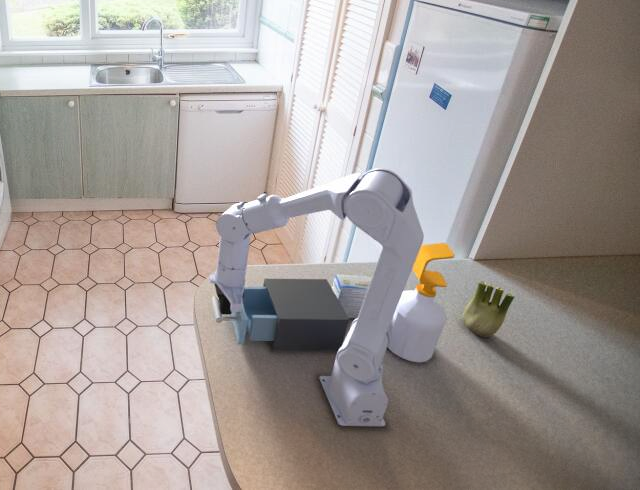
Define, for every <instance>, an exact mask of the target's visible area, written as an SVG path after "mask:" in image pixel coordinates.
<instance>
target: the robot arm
mask: <svg viewBox="0 0 640 490" xmlns="http://www.w3.org/2000/svg"><path fill="white" fill-rule="evenodd" d="M362 174H363V172H356V173H352V174H349V175H346V176H344V177H341V178H338V179H336V180H333V181H331V182H328V183H325V184H322V185H319V186H316V187H314V188H310V189H308V190H305V191H302V192H299V193H296V194H294V195H291V196H288V197H285V198H283V197H281V196H279V195H277V194H271V195H268V194H267V193H263V194H260V195H259V196H257V198H256V200H252V201H248V202H246V203H245V202H244V201H241V202H238V203H235V204H233V205H231V206H230V207H229V208H228V209H227V210H226V211H225V212H223V213H222V214H221V215H220V216H219V217H218V219H217V220H216V222H215V228H216V231H217V233H218V235H219V241H218V242H219V243H218V250H217V251H218V252H217V261H216V270H215V273H214V274H209V281H210V282H209V283H211V284H212V285H213V284H214V288H215V293H216V297H217V298H218V299H219V306H220V310H221V314H222V315H224V316H226V315H229V316H231V313H232V312H241V311H242V305H243V304H242V298H243V297H244V286H246V274H247V273H246V272H247V267H248V266H247V265H248V258H249V252H250V245H251V238H252V237H251V236H252V235H255V234H259V233H263V232H267V231H271V230H275V229H279V228H283V227H285V226H286V225H288V223H289V220H290V218H295V217H299V216H300V217H301V216H305V215H310V214H315V213H321V212H325V211H330V212H331V213H333V214H334V215H335V216H336V217H338V218H339V220H342V221H344V220H345V219H346V218H347V219H348V220H349V221H350V222H351V224H353V225H354V226H356V227H357V228H358V229H360V230H361V231H362V232H363V233H365V234H367V236H369V237H370V238H372V239H373V240H375V241H376V242H377V243H379V244H380V245H381V247H382V248H381V251H380V254H379V256H378V260H377V261H376V265H375V268H374V271H373V274H372V276H371V277H372V279H371V282H370V285H369V288H368V290H367V293H366V296H365V299H364V302H363V305H362V307H361V310H360V313H359V316H358V318H354V320H353V321H352V322H351V324H350V328H349V331H348V332H347V334H346V336H345V338H344V341H343V345H342V347H340V348H339V350H338V351H337V352H336V355H335V360H334V363H333V368H332V371H331V375H320V376H319V378H318V379H319V382H320V385H321V386H322V388H323V391H324V393H325V396H326V398H327V401H328V403H329V405H330V407H331V410H332V412H333V415H334V418H335V420H336V422H337V425H339V426H340V427H385V426H386V421H385V420H384V415H385V412H386V410H387V408H388V404H389V400H388V396H387V394H386V391H385V389H384V386H383V372H384V365H383V359H384V356H385V354H386V351H387V349H388V347H387V346H388V345H389V343H390V335H389V331H388V328H389V325H390V323H391V320H392V318H393V315H394V313H395V310H396V308H397V305H398V303H399V300H400V298H401V295H402V293H403V291H405V288H406V286H407V283H408V281H409V278H410V275H411V273H412V271H413V269H412V268H413V265H414V263H415V260H416V258H417V255H418V253H419V250H420V248H421V246H423V242H424V237H425V235H424V232H423V228H422V226H421V223H420V220H419V217H418V214H417V210H416V208H415V204H414V200H413V191H412V189H411V188H410V186H408V185H407V183H406V182H405V181H404V180H403V179H402V177H401V176H399V175H398V173H396V172H394V171H392V170H390V169H387V168H381V167H379V168H378V167H377V168H372V169H370V170H368V171H366V172H365V173H364V174H363V175H362ZM361 175H362V176H361ZM360 176H361V178H360Z"/></svg>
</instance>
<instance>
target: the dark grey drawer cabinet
mask: <svg viewBox="0 0 640 490" xmlns="http://www.w3.org/2000/svg"><path fill="white" fill-rule="evenodd" d="M262 284H263V285H262V287H266V288H267V291H268V294H269V296H270V299H271V302H272V304H273V307H274V309H275V312H276V315H277V317H278V322H277V327H276V332H275V338H274V341H270V344H271V347H272V350H273V351H281V352H282V351H286V352H287V351H289V352H338V350H339V348H340V347H342V345H343V343H344V341H345V338H346V335H347V330H348V327H349V323H350V318H348V316H347V315H346V313H345V311H344V309H343V307H342V306H341V304H340V302H339V300H338V299H337V297H336V295H335V293H334V291H333V290H332V286H331V285H330V283H329V280H327V278H263V283H262Z"/></svg>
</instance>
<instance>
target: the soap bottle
mask: <svg viewBox="0 0 640 490" xmlns="http://www.w3.org/2000/svg"><path fill="white" fill-rule="evenodd" d="M454 258H455V253H454V252H453V250H452V249H451V247H450V246H449V244H448V243H445V242H439V243H437V242H436V243H429V244H422V245H421V248H420V250H419V253H418V255H417V258H416V260H415V263H414V265H413V268H412V271H413V272H414V274H415V276H416V279H418V282H419V283H417V284H416V286H415V289H414V290H403V293H402V295H401V298H400V300H399V303H398V305H397V308H396V310H395V313H394V315H393V318H392V320H391V323H390V325H389V328H388V331H389V335H390V343H389V345H388V346H387V349H388V350H390V351H391V352H392V353H393V354H394V355H396V356H397V357H399V358H400V359H404V360H406V361H409V362H413V363H424V362H425V363H426V362H427V361H429V360H430V359H432V357H433V355H434V353H435V350H436V347H437V344H438V342H439V339H440V337H441V335H442V332H443V330H444V327H445V325H446V322H447V319H448V318H447V314H446V311H445V308H444V307H443V305H442V304H441V303H440V302H439V301H438V300H437V299H435V298H436V295H437V290H436V289H435V288H437V287H439V288H446V287H447V286H448V282H447V281H446V280H445V278H444V276H443V275H442V274H441V272H439V271H437V270H428V269H426V268H427V266H428V264H429V263H430V262H432V261H437V260H449V259H454Z"/></svg>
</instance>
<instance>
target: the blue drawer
mask: <svg viewBox="0 0 640 490" xmlns="http://www.w3.org/2000/svg"><path fill="white" fill-rule="evenodd" d="M242 304H243V305H242V311H241V312H232V313H231V315H230V316H223V314H221V310H220V306H219V298H218V296H212V297H211V305H212V309H213V314H214V319H215V322H216V323H218V324H221V323H222V322H232V325H233V329H234V334H235V339H236V342H237V345H245V339H246V333H247V337H248V339H249V340H248V341H250V342H271V341H274V338H275V332H276V327H277V322H278V317H277V315H276V312H275V309H274V307H273V304H272V302H271V299H270V296H269V294H268V291H267V288H266V287H263V286H252V285H251V286H247V285H245V286H244V297H243V298H242Z"/></svg>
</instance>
